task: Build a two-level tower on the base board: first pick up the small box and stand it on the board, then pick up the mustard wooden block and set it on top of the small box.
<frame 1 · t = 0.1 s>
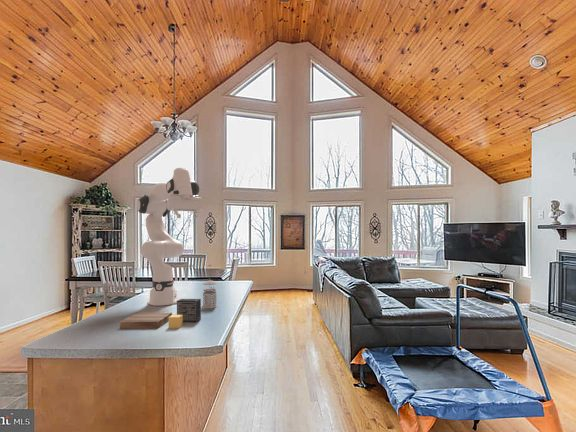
hand: (187, 218, 191), 52 cm above the table, tool tilted 20°, fingers open, 8 cm apart
french press: (210, 307, 208), on the table
small box: (189, 321, 176), on the table
base board: (147, 323, 172), on the table
mustard block: (175, 326, 165), on the table
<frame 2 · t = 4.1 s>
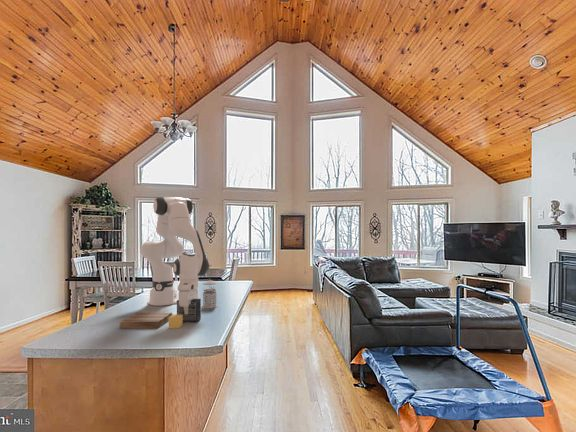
hand: (189, 312, 176), 4 cm above the table, tool pointing down, fingers closed on small box, 6 cm apart
small box: (188, 320, 176), on the table, touching gripper
everything else where it was.
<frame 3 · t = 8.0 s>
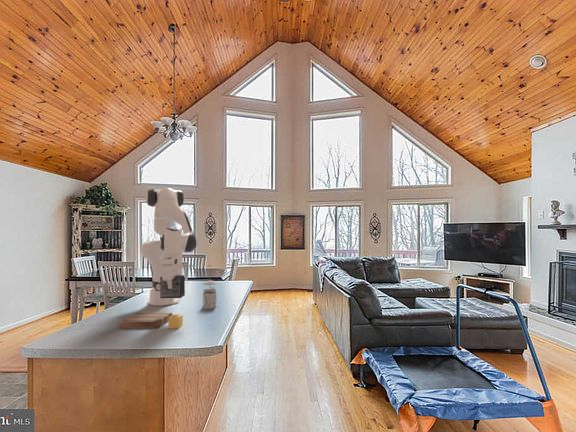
hand: (172, 287, 175), 17 cm above the table, tool pointing down, fingers closed on small box, 6 cm apart
small box: (172, 297, 175), point 12 cm above the table, touching gripper
everything else where it was.
when the fingers open (9 cm above the table, at t = 12.0 s): small box stays where it is, resting on base board.
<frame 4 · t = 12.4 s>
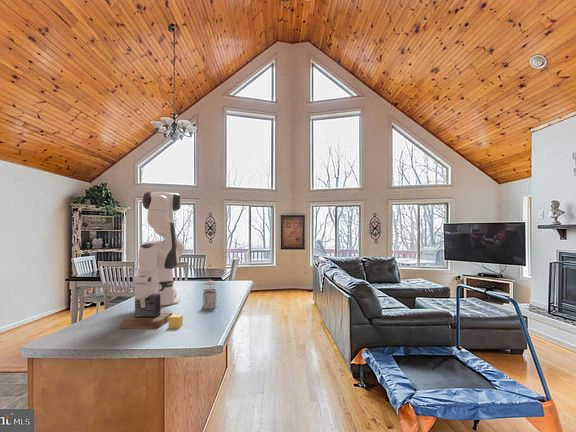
hand: (147, 305, 172), 9 cm above the table, tool pointing down, fingers open, 8 cm apart
small box: (147, 316, 173), point 3 cm above the table, touching base board, gripper
everything else where it was.
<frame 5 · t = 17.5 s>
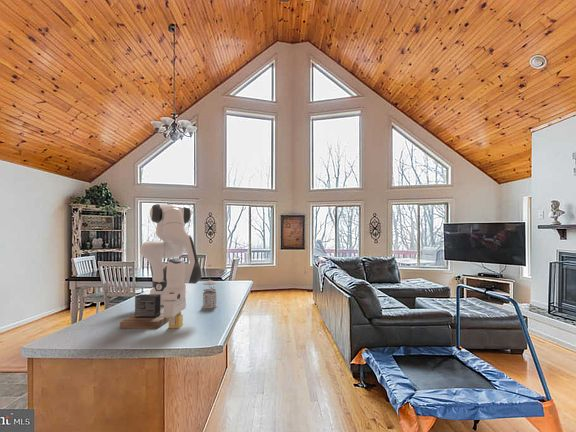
hand: (175, 322, 165), 2 cm above the table, tool pointing down, fingers closed on mustard block, 5 cm apart
small box: (147, 316, 173), point 3 cm above the table, touching base board
mustard block: (175, 326, 165), on the table, touching gripper
everything else where it was.
when the fingers open (16 cm above the table, at t = 26.7 s): mustard block stays where it is, resting on small box.
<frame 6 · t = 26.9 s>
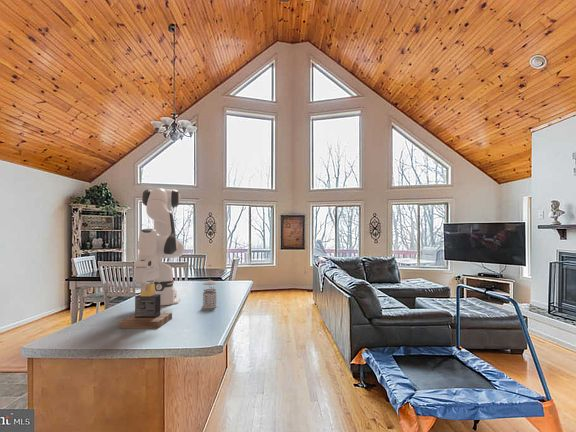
hand: (147, 289, 172), 16 cm above the table, tool pointing down, fingers open, 7 cm apart
small box: (147, 316, 173), point 3 cm above the table, touching base board, mustard block
mustard block: (147, 295, 172), point 13 cm above the table, touching small box
everything else where it was.
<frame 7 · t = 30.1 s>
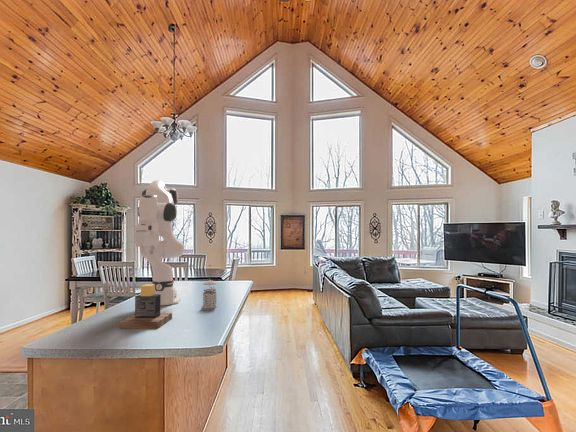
hand: (148, 255, 173), 33 cm above the table, tool pointing down, fingers open, 8 cm apart
nothing on the table moved.
at the end: small box inside the target area on the base board (1.0 cm from its centre), point 2.8 cm above the base board's base; mustard block inside the target area on the small box (0.8 cm from its centre), point 10.7 cm above the small box's base; small box tilted 0° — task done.
